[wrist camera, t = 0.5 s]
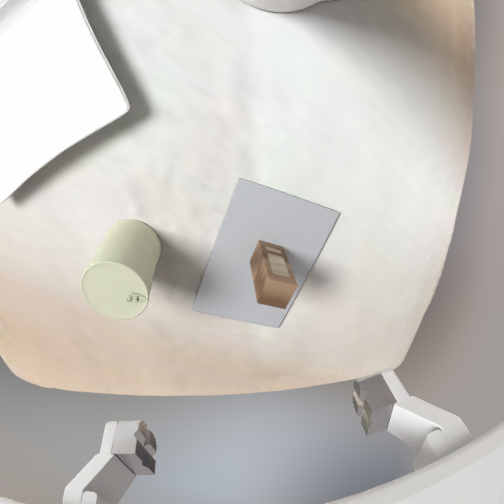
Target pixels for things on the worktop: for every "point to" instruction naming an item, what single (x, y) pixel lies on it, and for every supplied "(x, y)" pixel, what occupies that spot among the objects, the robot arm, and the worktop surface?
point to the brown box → (272, 275)
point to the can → (122, 270)
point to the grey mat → (245, 241)
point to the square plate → (50, 86)
